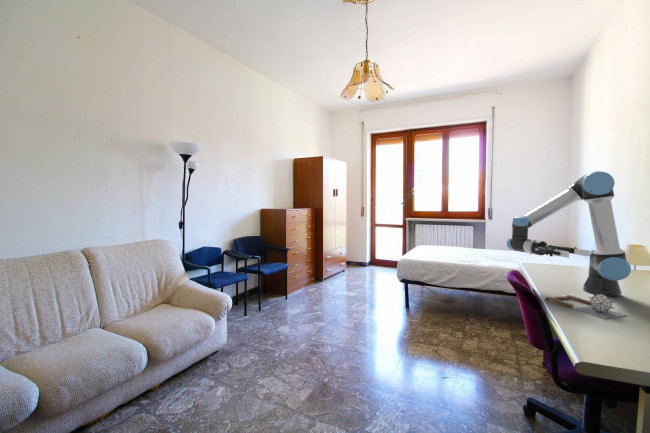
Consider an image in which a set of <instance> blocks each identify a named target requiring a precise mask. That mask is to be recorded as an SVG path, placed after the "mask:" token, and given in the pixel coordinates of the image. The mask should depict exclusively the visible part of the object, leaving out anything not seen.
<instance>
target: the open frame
mask: <svg viewBox="0 0 650 433" xmlns="http://www.w3.org/2000/svg"><path fill="white" fill-rule="evenodd" d="M565 300H570V301H575V302H578V303H581V304H584V305H588V306H591V304H588V303H590V300H587V299H585V298H581V297H578V296H574V295H571V294H567V295H563V296H552V297H550V296H546V297H545V301H547V302H550V303H553V304H556V305H559V306H561V307H565V308H567V309H574V304H573V303H572V304H571V303H569V302H566V301H565Z"/></svg>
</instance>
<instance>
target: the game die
mask: <svg viewBox="0 0 650 433" xmlns="http://www.w3.org/2000/svg"><path fill="white" fill-rule="evenodd" d="M610 298H611V296H604V295H602V292H601V294H599V295H597V294H593V296H591V297H590V296H588V299H589V301H590V303H588V304H591V306H592V307H593V308H592V309H596V310H598V311H600V313H601V312H603V311H607V312H608V310H615V308H614V307H613V303H614V302H615V301H613V300H611V299H610Z"/></svg>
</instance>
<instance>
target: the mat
mask: <svg viewBox="0 0 650 433" xmlns="http://www.w3.org/2000/svg"><path fill="white" fill-rule="evenodd" d="M592 308H593V307H592V306H590V305H588V306H581V307H578V306H577V307H573V310H575V309H576V311H578V310H579V311H578V312H581V311H582V312H581V313H584V312H585V313H584V314H587V313H588V314H587V315H590V314H591V316H593V315H594V316H593V317H596V316H598V317H597V318H599V317H600V318H599V319H602V318H603V320H609V319H618V318H625V317H628V315H627V314H625V313H620V312H618V311H614V310H612V309H609V310H608V312H607V311H603V312H601V313H600V311H598V310H596V309H592Z"/></svg>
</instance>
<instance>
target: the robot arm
mask: <svg viewBox="0 0 650 433" xmlns="http://www.w3.org/2000/svg"><path fill="white" fill-rule="evenodd" d="M615 182H616V181H615V179H614V177H613V176H612V175H611V174H610V173H609V172H605V171H601V170H596V171H592V172H589V173H587V174H585V175H582V176H581V177H580V178H579V179H578V180H576V181H575V182H574V183H572V184H570V185H568V186H567V189H566V190H564V191H562V192H560V193H558V194H557V195H556V196H554V197H552V198H550V199H548V200H547V201H546V202H544V203H542V204H541V205H539V206H537V207H535V208H534V209H533V210H531V211H528V212H527V213H525V214H524V215H522V216H514V217H512V224H511V228H512V229H511V230H512V233H511V234H512V235H511V237H509V238H508V239H507V241H506V247H507V249H509V250H511V251H512V250H513V251H515V252H519V253H525V254H528V255H537V256H545V255H546V256H549V257H553V256H557V257H561V258H562V257H563V258H567V259H568V258H570V254H574V255H578V256H583V257H584V256H585V257H589V265H588V276H587V278H586V281H585V282H584V283H583V286H582V288H583V291H585V292H587V293H590V294H592V295H594V294H595V295H599V294H601V292H602V295H604V296H607V297H608V296H610V298H611V297H613V298H614V297H615V298H619V297H622V290H621V287H620V284H619V281H623V280H625V279H626V278H628V277H629V276H630V275H631V272H632V267H631V264H630V263H629V261H628V260H627V254H626V250H624V249H622V248H621V247H620V246H621V245H620V242H619V236H618V231H617V225H616V221H615V215H614V210H613V206H612V199H613V198H615V193H614V188H615V187H614V186H615ZM582 200H583V201H584V202H586V203H587V204H588V205H587V206H588V209H589V210H588V211H589V214H590V221H591V225H592V232H593V238H594V242H595V248H596V249H591V250H587V249H581V248H577V247H576V246H574V247H567V246H558V245H552V244H551V245H550V244H549V245H548V243H547V242H546V241H544V240H536V239H531V238H530V239H529V229H530V228H532V227H533V226H535V225H536V224H538V223H540V222H542V221H543V220H545V219H547V218H549V217H551V216H552V215H554V214H556V213H557V212H559V211H561V210H562V209H564V208H566V207H568V206H570V205H572V204H573V203H575V202H577V201H582Z"/></svg>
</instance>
